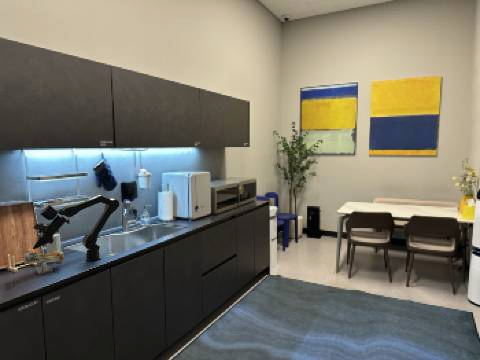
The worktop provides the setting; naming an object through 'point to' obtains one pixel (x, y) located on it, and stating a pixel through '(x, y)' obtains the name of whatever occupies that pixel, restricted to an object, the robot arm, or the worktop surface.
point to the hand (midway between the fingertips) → (33, 248)
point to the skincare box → (54, 244)
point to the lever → (42, 258)
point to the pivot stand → (44, 268)
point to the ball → (54, 253)
